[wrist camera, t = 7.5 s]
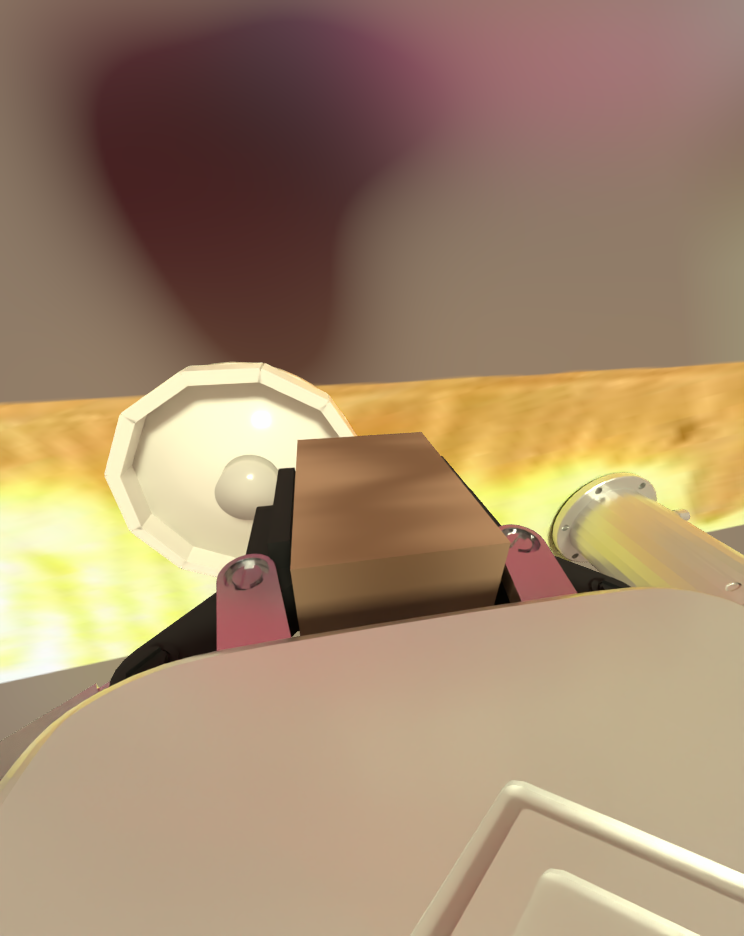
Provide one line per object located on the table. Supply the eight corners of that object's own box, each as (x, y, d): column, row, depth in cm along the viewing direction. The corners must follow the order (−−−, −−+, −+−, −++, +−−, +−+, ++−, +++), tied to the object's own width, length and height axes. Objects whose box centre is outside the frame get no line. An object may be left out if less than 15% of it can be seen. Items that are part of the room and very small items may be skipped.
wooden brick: (421, 432, 12) (511, 542, 7) (413, 528, 14) (476, 669, 9) (297, 440, 11) (290, 570, 6) (308, 539, 13) (310, 699, 8)
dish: (358, 356, 27) (364, 364, 24) (364, 545, 36) (369, 568, 33) (87, 368, 24) (54, 378, 21) (169, 569, 33) (155, 597, 30)
